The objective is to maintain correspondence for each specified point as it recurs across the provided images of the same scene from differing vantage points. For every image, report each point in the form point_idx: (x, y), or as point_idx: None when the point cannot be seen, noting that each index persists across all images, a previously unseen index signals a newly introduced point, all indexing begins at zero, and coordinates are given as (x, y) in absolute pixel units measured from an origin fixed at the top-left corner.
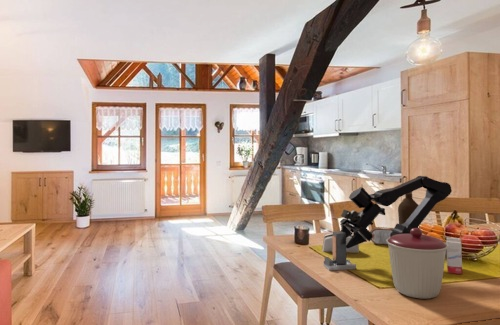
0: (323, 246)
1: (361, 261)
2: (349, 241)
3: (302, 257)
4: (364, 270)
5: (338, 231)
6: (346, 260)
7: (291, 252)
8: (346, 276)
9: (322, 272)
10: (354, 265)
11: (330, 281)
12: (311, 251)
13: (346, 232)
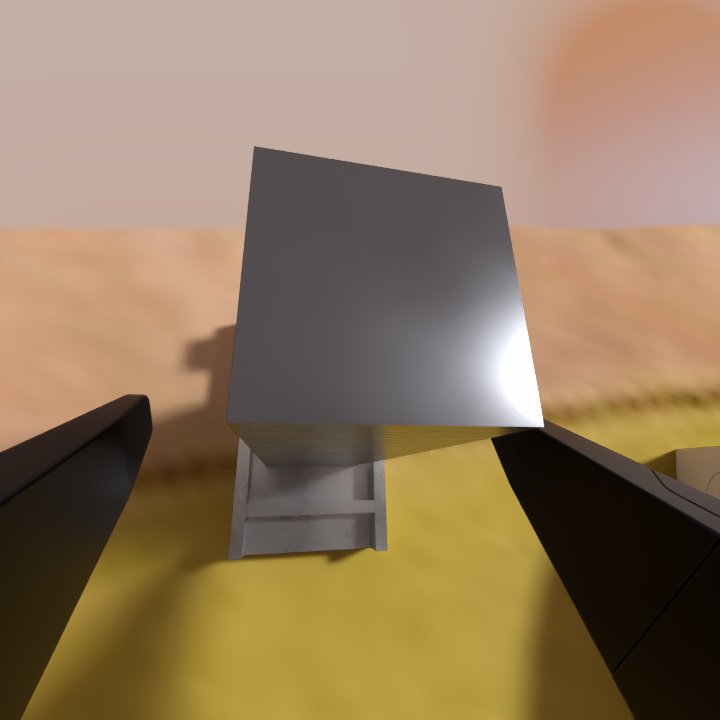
0: (715, 447)
1: (429, 706)
2: (45, 445)
3: (539, 268)
4: (172, 622)
5: (501, 310)
6: (362, 510)
7: (629, 247)
8: (86, 388)
9: (231, 264)
10: (230, 539)
11: (36, 238)
12: (664, 368)
13: (686, 645)
